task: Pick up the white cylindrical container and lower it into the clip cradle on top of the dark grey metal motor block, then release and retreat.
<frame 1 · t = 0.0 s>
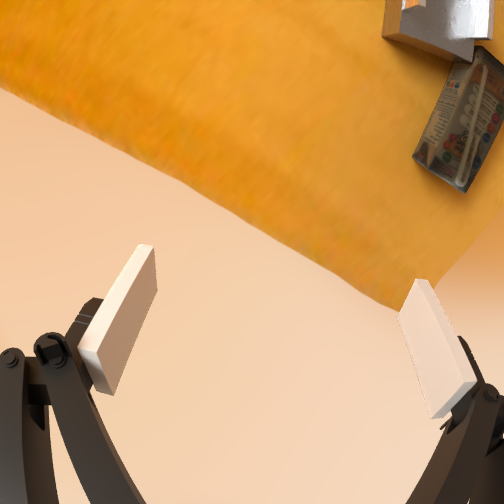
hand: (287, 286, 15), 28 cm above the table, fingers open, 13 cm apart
beverage carton: (455, 112, 34), on the table
motor: (421, 9, 26), on the table
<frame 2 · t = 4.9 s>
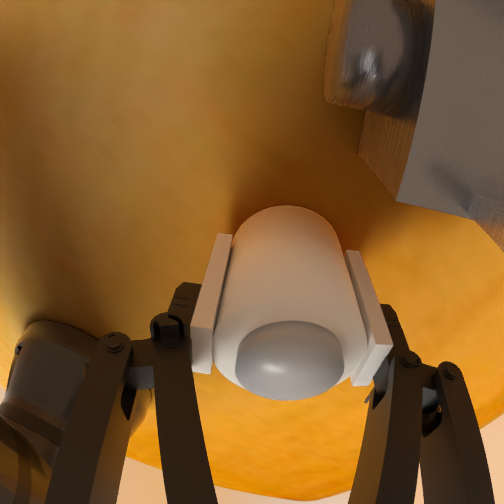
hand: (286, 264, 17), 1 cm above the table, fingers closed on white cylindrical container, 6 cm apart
white cylindrical container: (285, 255, 18), on the table, touching gripper
motor: (476, 94, 12), on the table
when the fingers open (7 cm above the table, at t = 9.8 s): white cylindrical container stays where it is, resting on motor.
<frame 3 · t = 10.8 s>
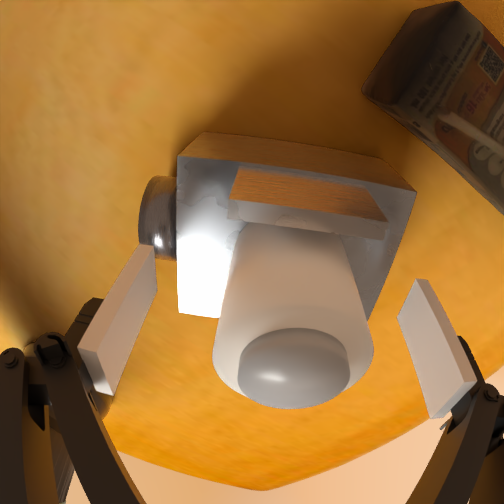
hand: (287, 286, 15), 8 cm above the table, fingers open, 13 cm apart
white cylindrical container: (288, 259, 17), point 6 cm above the table, touching motor
beverage carton: (477, 129, 18), on the table
motor: (284, 211, 22), on the table
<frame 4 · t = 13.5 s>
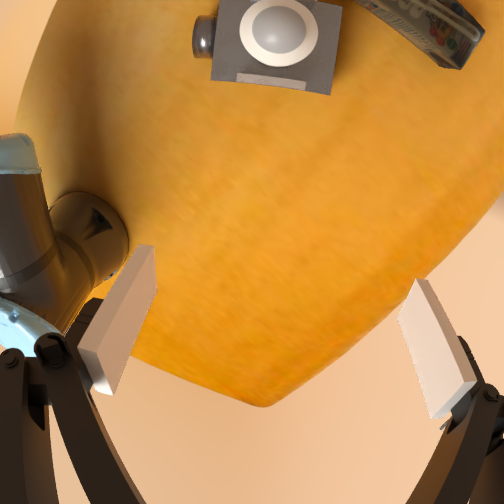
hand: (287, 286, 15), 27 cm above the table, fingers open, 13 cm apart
white cylindrical container: (277, 39, 26), point 6 cm above the table, touching motor
beverage carton: (395, 2, 26), on the table
motor: (276, 44, 31), on the table
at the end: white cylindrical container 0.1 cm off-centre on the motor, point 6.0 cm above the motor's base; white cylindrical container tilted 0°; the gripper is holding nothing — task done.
